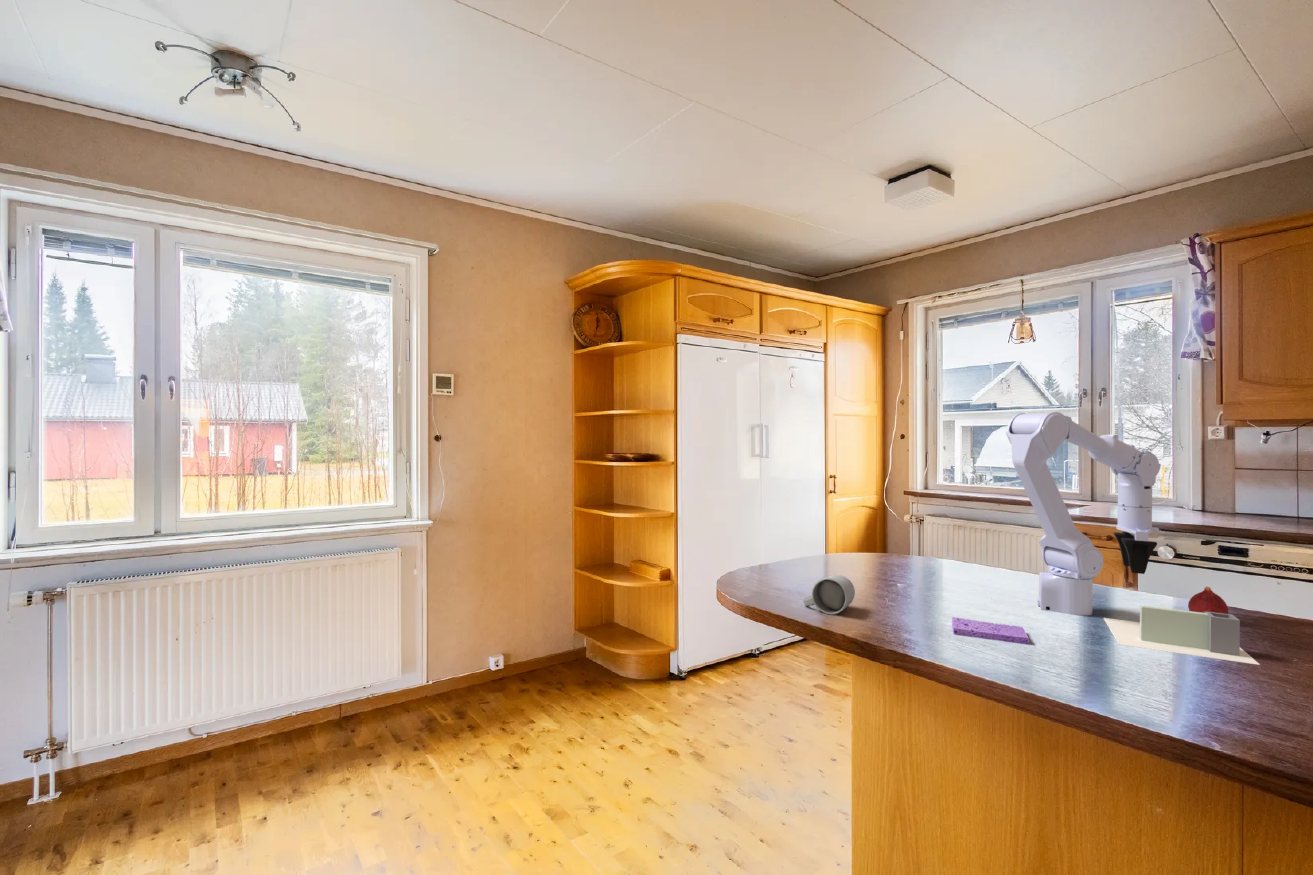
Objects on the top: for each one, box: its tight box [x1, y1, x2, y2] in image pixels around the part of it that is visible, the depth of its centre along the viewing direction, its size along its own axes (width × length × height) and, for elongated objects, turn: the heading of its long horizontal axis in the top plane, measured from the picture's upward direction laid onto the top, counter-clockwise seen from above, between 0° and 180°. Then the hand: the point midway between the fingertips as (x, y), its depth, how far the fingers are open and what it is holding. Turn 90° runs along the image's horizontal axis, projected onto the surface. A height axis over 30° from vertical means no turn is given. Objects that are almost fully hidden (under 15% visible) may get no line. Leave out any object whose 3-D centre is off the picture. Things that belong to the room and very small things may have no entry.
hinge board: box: [1102, 617, 1261, 666], centre depth 106 cm, size 18×17×5 cm
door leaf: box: [1139, 605, 1241, 656], centre depth 102 cm, size 13×4×6 cm, turn 60°
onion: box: [1187, 586, 1229, 614], centre depth 117 cm, size 6×6×8 cm
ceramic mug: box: [802, 574, 856, 615], centre depth 129 cm, size 11×8×8 cm
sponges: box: [951, 616, 1030, 645], centre depth 113 cm, size 7×13×2 cm, turn 64°
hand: (1133, 569), depth 125 cm, fingers open, 7 cm apart
